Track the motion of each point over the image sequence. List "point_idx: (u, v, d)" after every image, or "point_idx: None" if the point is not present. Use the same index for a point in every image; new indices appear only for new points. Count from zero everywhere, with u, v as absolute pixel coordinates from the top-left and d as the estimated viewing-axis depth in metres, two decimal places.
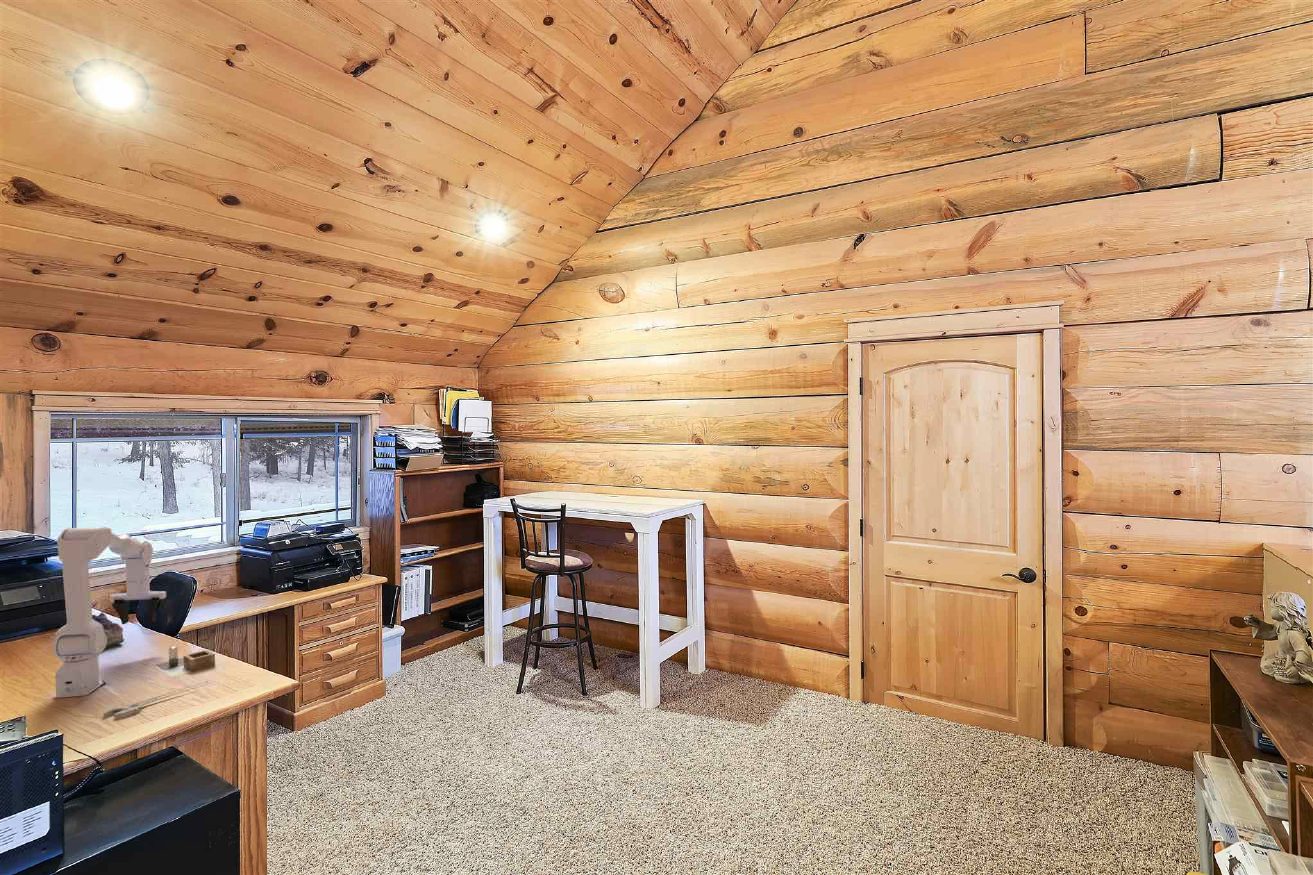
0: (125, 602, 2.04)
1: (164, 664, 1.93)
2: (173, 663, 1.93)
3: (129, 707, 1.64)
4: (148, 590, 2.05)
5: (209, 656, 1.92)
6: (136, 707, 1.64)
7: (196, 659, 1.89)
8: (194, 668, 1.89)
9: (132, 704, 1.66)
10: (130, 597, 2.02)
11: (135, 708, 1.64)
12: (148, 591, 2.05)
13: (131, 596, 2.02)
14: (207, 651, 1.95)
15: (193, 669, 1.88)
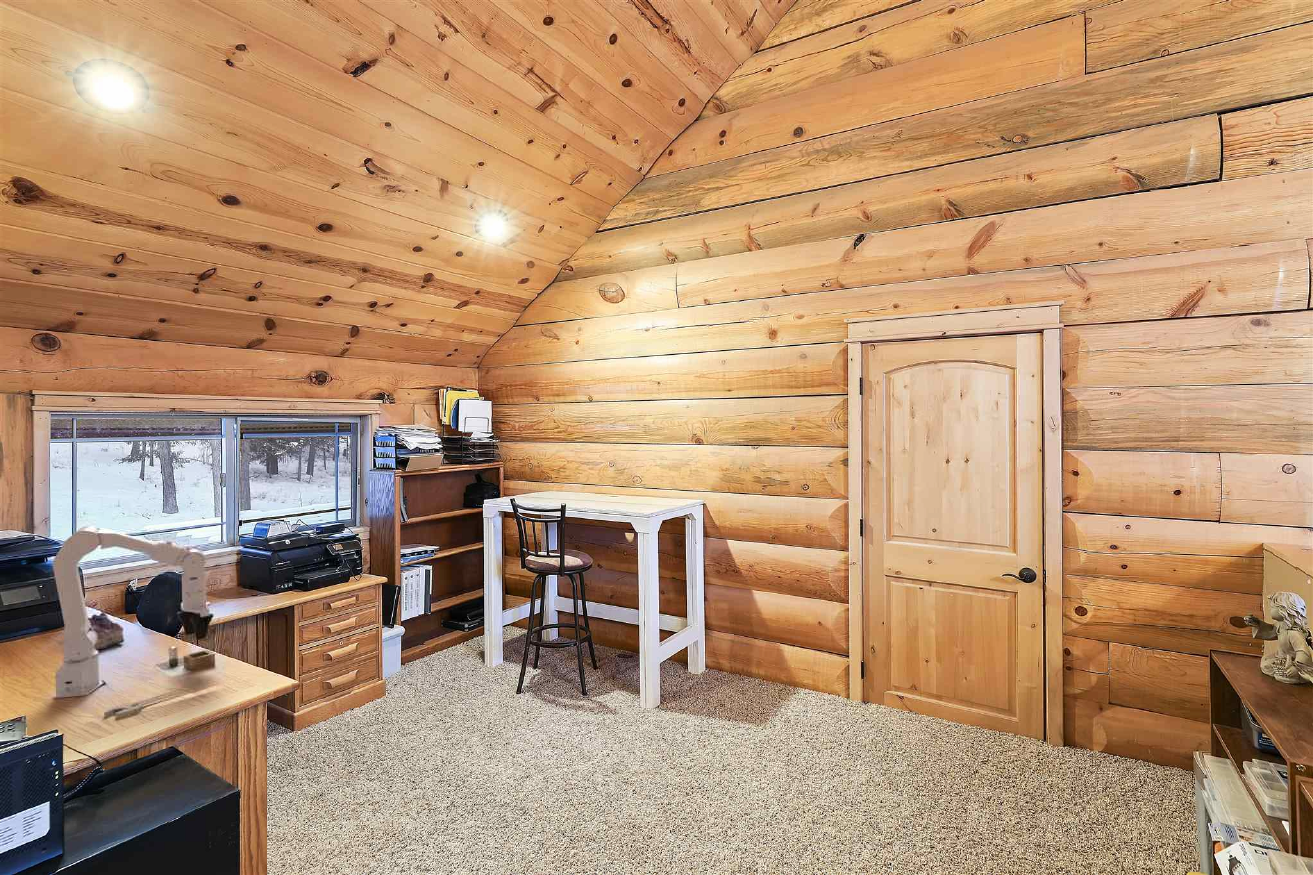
0: (190, 612, 1.95)
1: (164, 664, 1.93)
2: (173, 663, 1.93)
3: (130, 706, 1.65)
4: (199, 604, 1.91)
5: (209, 656, 1.92)
6: (137, 706, 1.65)
7: (196, 659, 1.89)
8: (194, 668, 1.89)
9: (133, 703, 1.66)
10: (182, 609, 1.90)
11: (136, 707, 1.64)
12: (198, 605, 1.91)
13: (182, 608, 1.90)
14: (207, 651, 1.95)
15: (193, 669, 1.88)
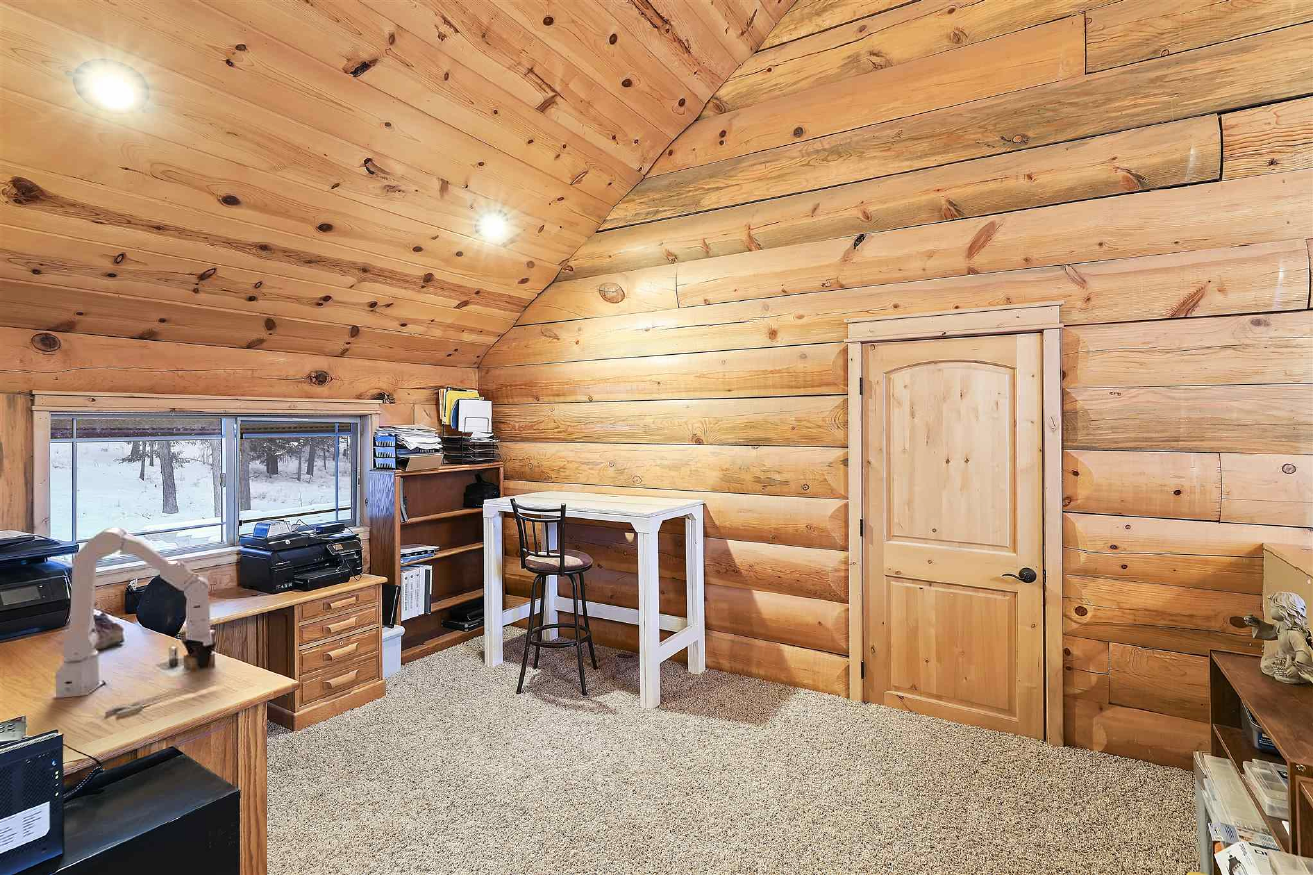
0: (195, 640, 1.94)
1: (164, 664, 1.93)
2: (173, 663, 1.93)
3: (131, 706, 1.65)
4: (202, 632, 1.90)
5: None
6: (138, 706, 1.65)
7: (196, 659, 1.89)
8: (194, 668, 1.89)
9: (134, 703, 1.67)
10: (186, 637, 1.90)
11: (137, 707, 1.64)
12: (202, 634, 1.90)
13: (186, 636, 1.90)
14: None
15: (193, 669, 1.88)
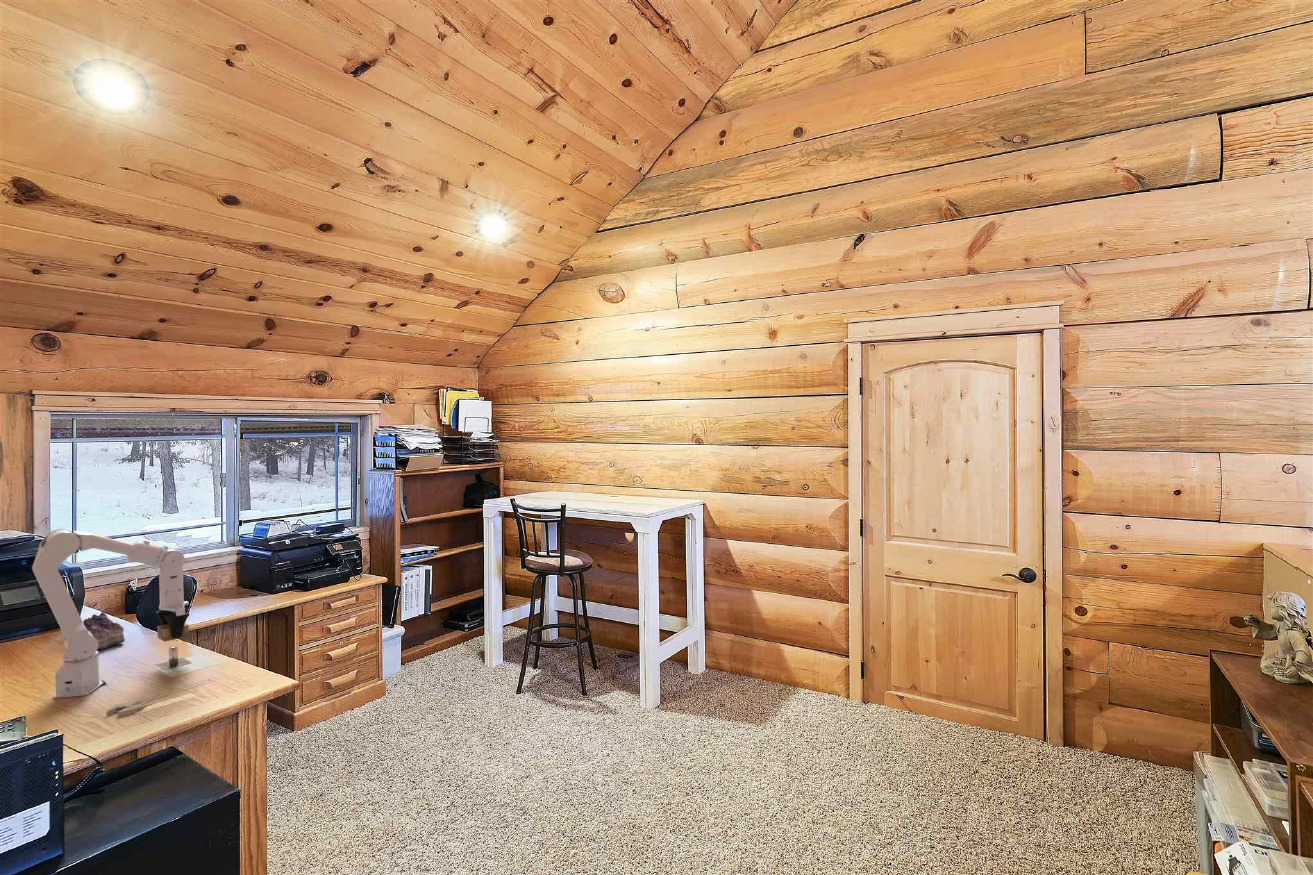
0: (169, 611, 1.95)
1: (164, 664, 1.93)
2: (173, 663, 1.93)
3: (132, 705, 1.65)
4: (175, 603, 1.92)
5: None
6: (139, 705, 1.65)
7: (169, 629, 1.90)
8: (167, 638, 1.90)
9: (135, 702, 1.67)
10: (159, 608, 1.91)
11: (138, 706, 1.65)
12: (175, 604, 1.92)
13: (159, 607, 1.91)
14: None
15: (166, 639, 1.90)
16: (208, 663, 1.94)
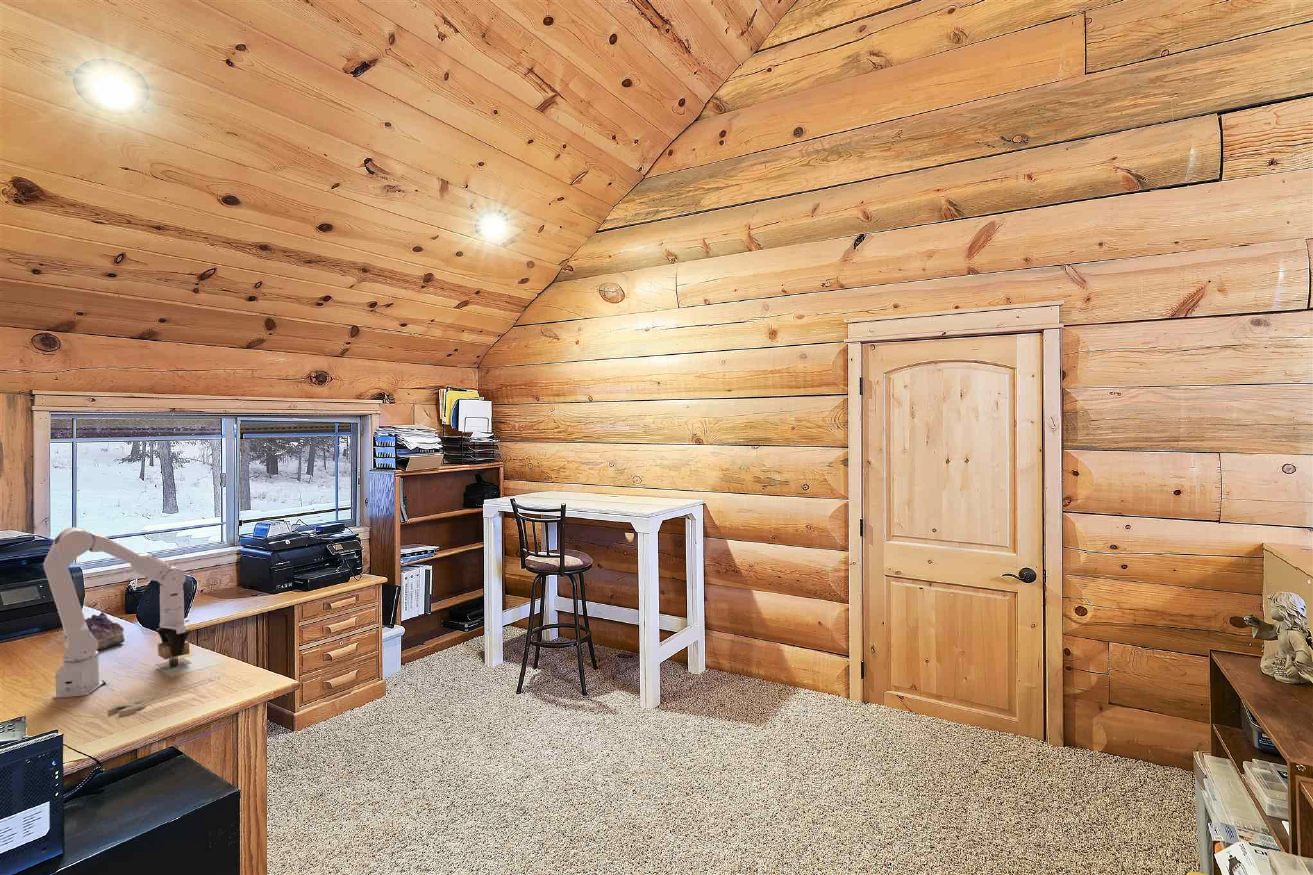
0: (169, 628, 1.96)
1: (164, 664, 1.93)
2: (173, 663, 1.93)
3: (133, 704, 1.66)
4: (176, 621, 1.92)
5: None
6: (140, 704, 1.66)
7: (170, 647, 1.91)
8: (168, 656, 1.90)
9: (136, 701, 1.68)
10: None
11: (139, 705, 1.65)
12: (176, 622, 1.92)
13: (160, 624, 1.91)
14: None
15: (167, 657, 1.90)
16: (208, 663, 1.94)
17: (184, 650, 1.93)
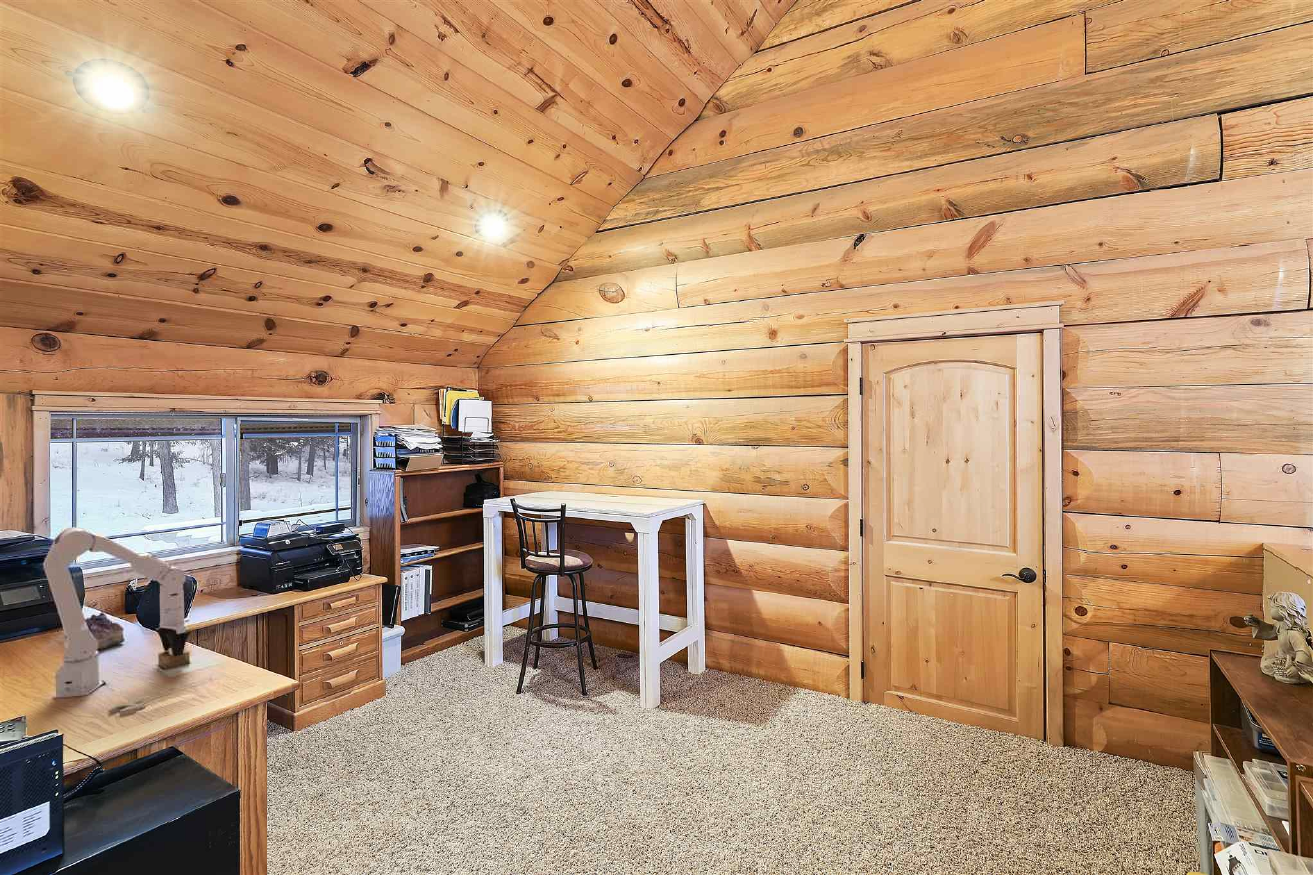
0: (169, 628, 1.96)
1: None
2: None
3: (134, 704, 1.66)
4: (176, 621, 1.92)
5: (183, 654, 1.93)
6: (141, 704, 1.66)
7: (170, 657, 1.91)
8: (168, 666, 1.90)
9: (137, 701, 1.68)
10: None
11: (140, 705, 1.66)
12: (176, 622, 1.92)
13: (160, 624, 1.91)
14: None
15: (167, 667, 1.90)
16: (208, 663, 1.94)
17: (184, 659, 1.93)
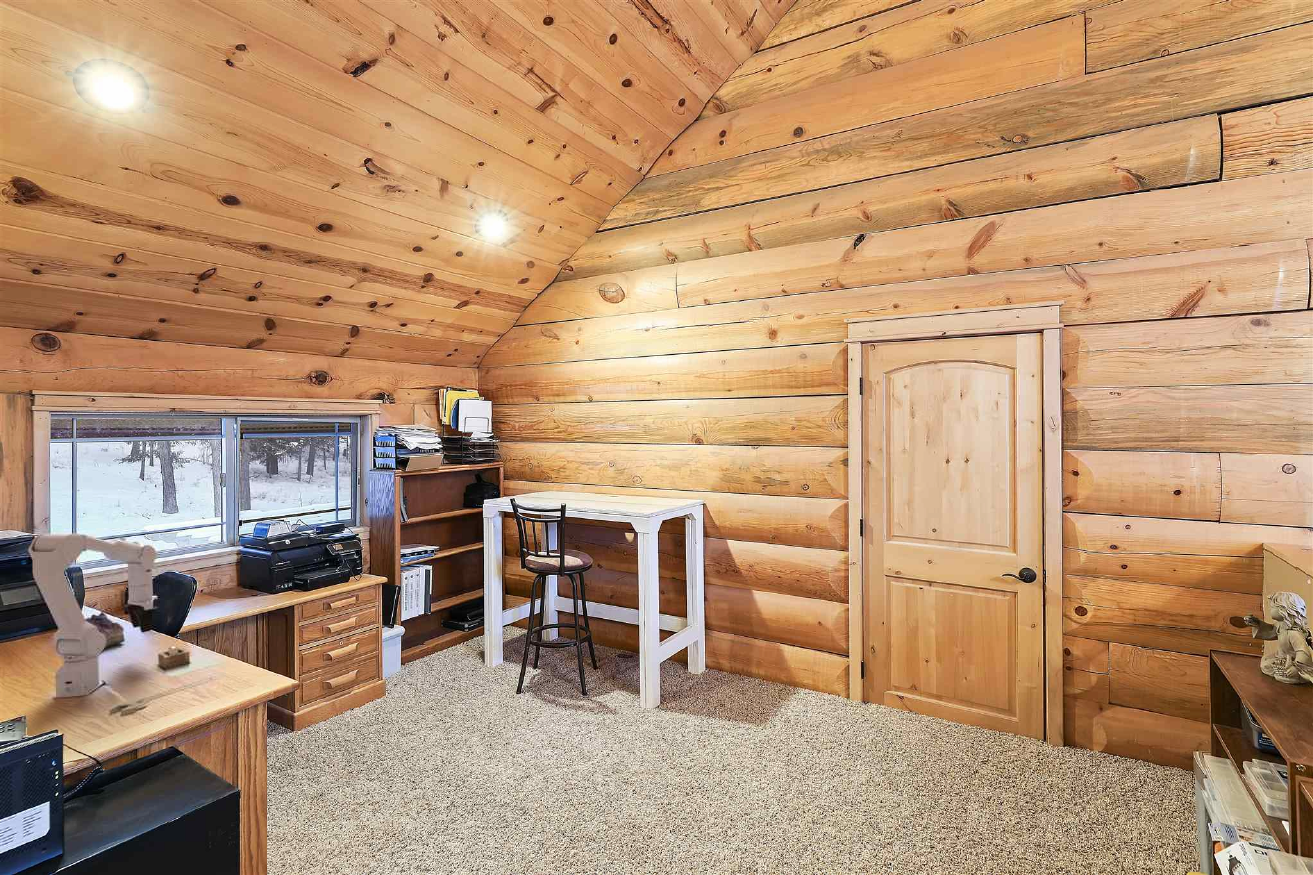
0: (138, 605, 1.99)
1: None
2: None
3: (135, 703, 1.67)
4: (144, 597, 1.95)
5: (183, 654, 1.93)
6: (142, 703, 1.67)
7: (170, 657, 1.91)
8: (168, 666, 1.90)
9: (138, 700, 1.68)
10: (128, 602, 1.95)
11: (141, 704, 1.66)
12: (144, 599, 1.95)
13: (128, 601, 1.95)
14: (182, 649, 1.96)
15: (167, 667, 1.90)
16: (208, 663, 1.94)
17: (184, 659, 1.93)
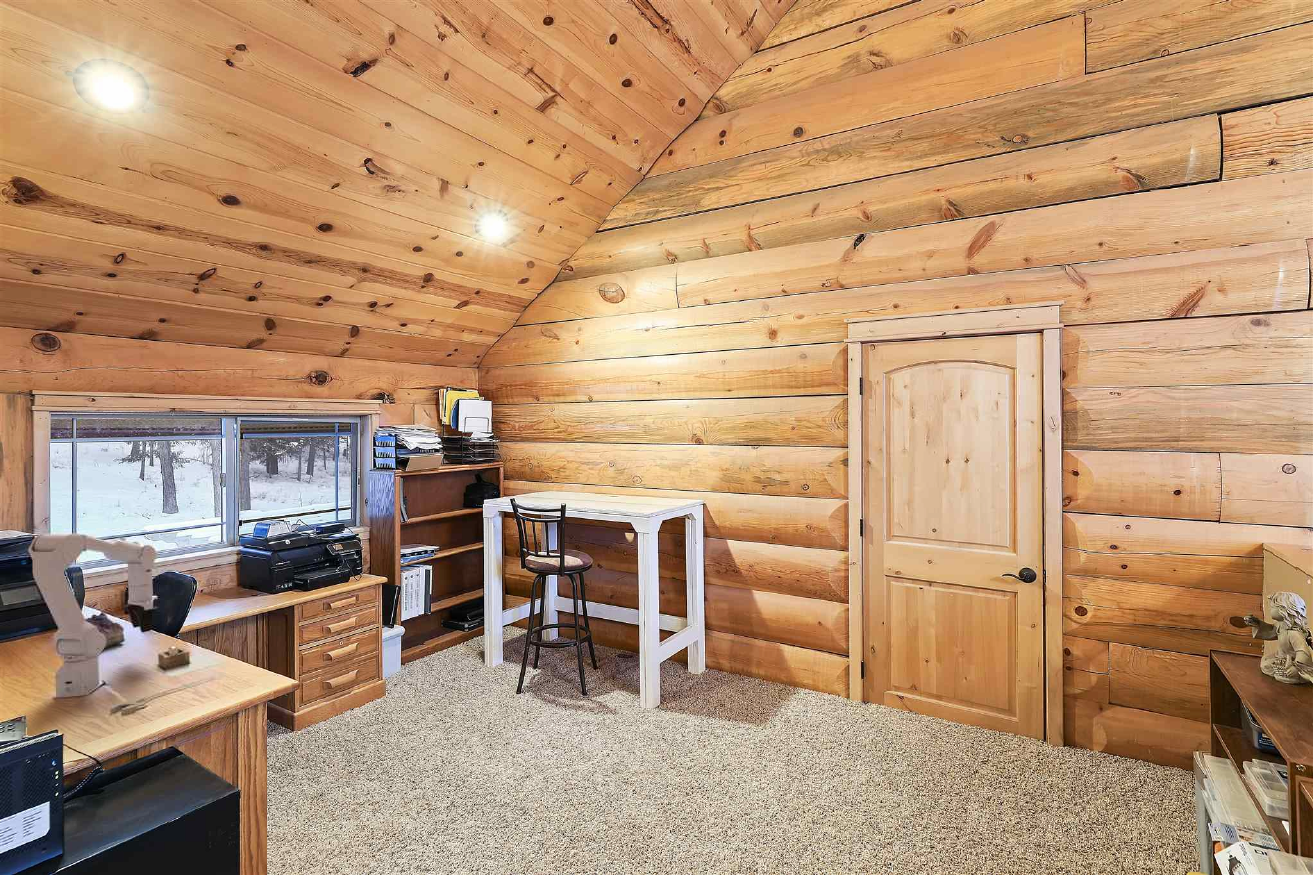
0: (138, 605, 1.99)
1: None
2: None
3: (136, 702, 1.67)
4: (144, 597, 1.95)
5: (183, 654, 1.93)
6: (143, 702, 1.67)
7: (170, 657, 1.91)
8: (168, 666, 1.90)
9: (138, 700, 1.69)
10: (128, 602, 1.95)
11: (142, 703, 1.66)
12: (144, 599, 1.95)
13: (128, 601, 1.95)
14: (182, 649, 1.96)
15: (167, 667, 1.90)
16: (208, 663, 1.94)
17: (184, 659, 1.93)
